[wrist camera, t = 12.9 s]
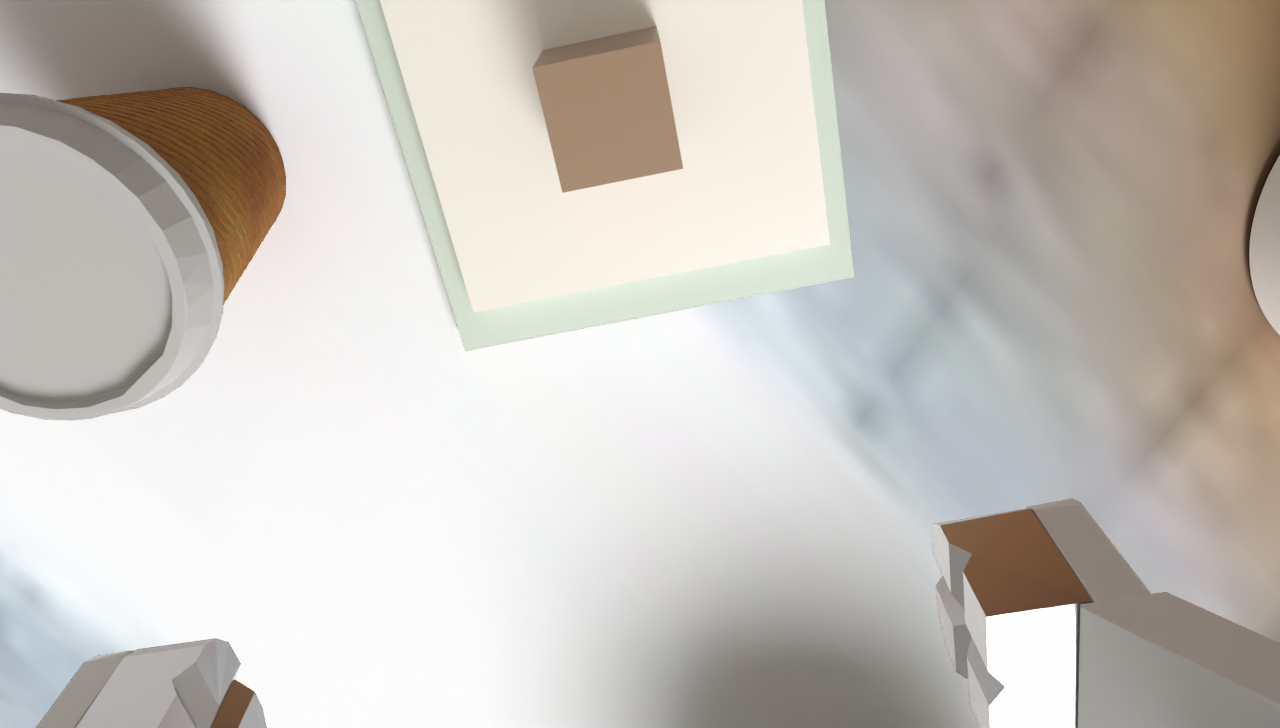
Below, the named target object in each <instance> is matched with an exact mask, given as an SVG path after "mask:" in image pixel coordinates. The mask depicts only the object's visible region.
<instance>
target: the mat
mask: <svg viewBox="0 0 1280 728" xmlns="http://www.w3.org/2000/svg"><path fill="white" fill-rule="evenodd" d="M355 1H356V4H357V8H358V11H359V14H360V17H361V20H362V24H363V27H364V30H365V33H366V36H367V39H368V43H369V46H370V49H371V52H372V55H373V59H374V62H375V65H376V68H377V71H378V75H379V78H380V81H381V84H382V87H383V90H384V94H385V97H386V100H387V103H388V106H389V110H390V113H391V116H392V119H393V122H394V126H395V129H396V132H397V135H398V138H399V142H400V145H401V148H402V151H403V154H404V157H405V161H406V164H407V167H408V170H409V173H410V177H411V180H412V183H413V186H414V189H415V193H416V196H417V199H418V202H419V205H420V209H421V212H422V215H423V218H424V221H425V224H426V228H427V231H428V234H429V237H430V240H431V244H432V247H433V250H434V253H435V256H436V260H437V263H438V266H439V269H440V272H441V276H442V279H443V282H444V285H445V288H446V291H447V295H448V298H449V301H450V304H451V307H452V311H453V314H454V317H455V320H456V323H457V327H458V330H459V333H460V336H461V339H462V342H463V346H464V349H465V351H468V350H474V349H479V348H484V347H489V346H495V345H500V344H505V343H510V342H516V341H521V340H526V339H531V338H537V337H542V336H547V335H552V334H558V333H563V332H568V331H573V330H579V329H584V328H589V327H594V326H600V325H605V324H610V323H615V322H621V321H626V320H631V319H636V318H642V317H647V316H652V315H657V314H663V313H668V312H673V311H678V310H684V309H689V308H694V307H699V306H705V305H710V304H715V303H720V302H725V301H731V300H736V299H741V298H746V297H752V296H757V295H762V294H767V293H773V292H778V291H783V290H788V289H794V288H799V287H804V286H809V285H815V284H820V283H825V282H830V281H836V280H841V279H846V278H851V277H854V272H853V262H852V253H851V244H850V234H849V225H848V216H847V207H846V197H845V188H844V179H843V169H842V160H841V151H840V141H839V132H838V123H837V114H836V104H835V95H834V86H833V76H832V67H831V58H830V49H829V39H828V30H827V21H826V11H825V2H824V0H802V3H803V12H804V21H805V29H806V38H807V47H808V56H809V64H810V73H811V82H812V90H813V99H814V108H815V117H816V125H817V134H818V143H819V151H820V160H821V169H822V177H823V186H824V195H825V204H826V212H827V221H828V230H829V238H830V244H829V245H824V246H819V247H814V248H808V249H803V250H798V251H793V252H787V253H782V254H777V255H772V256H766V257H761V258H756V259H751V260H746V261H740V262H735V263H730V264H725V265H719V266H714V267H709V268H704V269H698V270H693V271H688V272H683V273H677V274H672V275H667V276H662V277H657V278H651V279H646V280H641V281H636V282H630V283H625V284H620V285H615V286H609V287H604V288H599V289H594V290H589V291H583V292H578V293H573V294H568V295H562V296H557V297H552V298H547V299H541V300H536V301H531V302H526V303H521V304H515V305H510V306H505V307H500V308H494V309H489V310H484V311H479V312H473V309H472V306H471V302H470V299H469V296H468V292H467V289H466V286H465V282H464V279H463V276H462V272H461V269H460V266H459V262H458V259H457V256H456V252H455V249H454V246H453V242H452V239H451V236H450V232H449V229H448V226H447V222H446V219H445V216H444V212H443V209H442V206H441V202H440V199H439V196H438V192H437V189H436V186H435V182H434V179H433V176H432V172H431V169H430V166H429V162H428V159H427V156H426V152H425V149H424V146H423V142H422V139H421V136H420V132H419V129H418V126H417V122H416V119H415V116H414V112H413V109H412V106H411V102H410V99H409V96H408V92H407V89H406V86H405V82H404V79H403V76H402V72H401V69H400V66H399V62H398V59H397V56H396V52H395V49H394V46H393V42H392V39H391V36H390V33H389V29H388V26H387V23H386V19H385V16H384V13H383V9H382V6H381V3H380V0H355Z"/></svg>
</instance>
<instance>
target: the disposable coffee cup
mask: <svg viewBox="0 0 1280 728" xmlns="http://www.w3.org/2000/svg"><path fill="white" fill-rule="evenodd" d="M285 195H286V175H285V170H284V165H283V160H282V157H281V155H280V152H279V149H278V147H277V145H276V143H275V142H274V140H273V138H272V137H271V135H270V133H269V132H268V131H267V129H266V128H265V127H264V126H263V125H262V123H261V122H260V121H259V120H258V119H257V118H256V117H255V116H254V115H253V114H252V113H250V112H249V111H248V110H247V109H246V108H245V107H243V106H242V105H240V104H238V103H237V102H235V101H233V100H232V99H230V98H229V97H226V96H224V95H221V94H218V93H216V92H213V91H210V90H204V89H198V88H192V87H186V88H171V89H163V90H153V91H143V92H133V93H124V94H113V95H103V96H93V97H85V98H74V99H68V100H58V101H54V100H50V99H47V98H43V97H39V96H35V95H26V94H10V93H0V409H3V410H6V411H8V412H11V413H15V414H20V415H25V416H30V417H35V418H40V419H46V420H81V419H91V418H95V417H99V416H103V415H106V414H111V413H116V412H121V411H126V410H131V409H136V408H140V407H142V406H144V405H147V404H149V403H151V402H154V401H156V400H158V399H160V398H163V397H165V396H166V395H168V394H169V393H171V392H172V391H174V390H175V389H177V388H178V387H180V386H181V385H182V384H183V383H184V382H185V381H186V380H187V379H188V378H189V377H190V376H191V375H192V374H193V373H194V372H195V371H196V370H197V369H198V368H199V367H200V365H201V364H202V362H203V361H204V359H205V357H206V356H207V354H208V352H209V350H210V348H211V346H212V344H213V343H214V341H215V339H216V337H217V333H218V329H219V325H220V322H221V318H222V314H223V305H224V303H225V301H226V300H227V299H228V297H229V295H230V293H231V291H232V290H233V288H234V286H235V285H236V283H237V282H238V280H239V278H240V277H241V275H242V274H243V272H244V270H245V269H246V267H247V265H248V263H249V262H250V261H251V260H252V258H253V256H254V254H255V253H256V251H257V249H258V248H259V246H260V244H261V242H262V241H263V240H264V238H265V236H266V235H267V233H268V231H269V229H270V228H271V226H272V225H273V224H274V222H275V221H276V219H277V217H278V215H279V213H280V211H281V209H282V206H283V203H284V199H285Z"/></svg>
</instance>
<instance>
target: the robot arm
mask: <svg viewBox="0 0 1280 728" xmlns="http://www.w3.org/2000/svg"><path fill="white" fill-rule="evenodd" d="M1249 260H1250V273H1251V279H1252V284H1253V288H1254V292H1255V295H1256V298H1257V300H1258V303H1259V305H1260V308H1261V309H1262V311H1263V313H1264V315H1265V317H1266V318H1267V320H1268V321H1269V323H1270V324H1271V326H1272V327H1273V328H1274V329H1275V330H1276V332H1277V333H1278V334H1279V335H1280V155H1279V157H1278V159H1277V161H1276V162H1275V164H1274V166H1273V168H1272V170H1271V172H1270V174H1269V176H1268V178H1267V181H1266V183H1265V185H1264V188H1263V190H1262V193H1261V196H1260V198H1259V201H1258V204H1257V208H1256V211H1255V215H1254V219H1253V224H1252V229H1251V237H1250V250H1249ZM932 540H933V555H934V557H935V559H936V561H937V563H938V565H939V568H940V570H941V572H942V574H943V576H942V578H941V579H940V581H939V582H938V583H937V585H936V597H937V607H938V614H939V619H940V624H941V629H942V634H943V637H944V640H945V644H946V647H947V650H948V653H949V655H950V658H951V660H952V663H953V665H954V668H955V670H956V672H957V673H959V674H960V675H962V676H964V677H965V678H967V679H968V683H969V699H970V705H971V708H972V710H973V712H974V714H975V717H976V719H977V721H978V724H979V726H980V728H1280V643H1279V642H1276V641H1274V640H1272V639H1270V638H1267V637H1265V636H1263V635H1261V634H1258V633H1256V632H1254V631H1252V630H1250V629H1247V628H1245V627H1243V626H1241V625H1238V624H1236V623H1234V622H1232V621H1230V620H1227V619H1225V618H1223V617H1221V616H1218V615H1216V614H1214V613H1212V612H1210V611H1207V610H1205V609H1203V608H1201V607H1198V606H1196V605H1194V604H1192V603H1190V602H1187V601H1185V600H1183V599H1181V598H1178V597H1176V596H1174V595H1172V594H1170V593H1167V592H1162V593H1155V594H1151V593H1150V591H1149V590H1148V589H1147V588H1146V586H1145V585H1144V584H1143V582H1142V581H1141V580H1140V578H1139V577H1138V576H1137V575H1136V573H1135V572H1134V571H1133V569H1132V568H1131V567H1130V566H1129V564H1128V563H1127V562H1126V560H1125V559H1124V558H1123V556H1122V555H1121V554H1120V553H1119V551H1118V550H1117V549H1116V547H1115V546H1114V545H1113V544H1112V542H1111V541H1110V540H1109V538H1108V537H1107V536H1106V534H1105V533H1104V532H1103V531H1102V529H1101V528H1100V527H1099V525H1098V524H1097V523H1096V522H1095V520H1094V519H1093V518H1092V516H1091V515H1090V514H1089V512H1088V511H1087V510H1086V509H1085V507H1084V506H1083V505H1082V503H1081V502H1079V501H1077V500H1075V499H1073V498H1072V499H1066V500H1061V501H1056V502H1050V503H1045V504H1040V505H1034V506H1029V507H1026V509H1021V510H1014V511H1008V512H1002V513H996V514H990V515H984V516H978V517H972V518H966V519H960V520H954V521H948V522H942V523H936V524H934V525H933V533H932ZM240 664H241V663H240V662H239V660H238V658H237V656H236V655H235V653H234V651H233V649H232V648H231V646H230V644H229V642H226V641H223V640H219V639H209V640H201V641H194V642H187V643H179V644H172V645H165V646H157V647H150V648H143V649H137V650H135V651H124V652H118V653H111V654H104V655H98V656H96V657H94V658H92V659H90V660H88V661H86V662H84V663H83V664H82V665H81V667H80V668H79V669H78V671H77V672H76V674H75V675H74V676H73V678H72V679H71V680H70V682H69V683H68V684H67V686H66V687H65V689H64V690H63V691H62V693H61V694H60V695H59V697H58V698H57V699H56V701H55V702H54V704H53V705H52V706H51V708H50V709H49V710H48V712H47V713H46V714H45V716H44V717H43V719H42V720H41V721H40V723H39V724H38V725H37V727H36V728H267V727H266V723H265V718H264V713H263V708H262V706H261V704H260V702H259V700H258V698H257V696H256V693H255V692H254V691H252V690H251V689H249V688H247V687H246V686H244V685H243V684H241V683H240V682H238V681H236V680H235V678H236V675H237V672H238V670H239V667H240Z"/></svg>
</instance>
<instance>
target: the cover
mask: <svg viewBox="0 0 1280 728" xmlns="http://www.w3.org/2000/svg"><path fill="white" fill-rule="evenodd" d="M380 3H381V6H382V9H383V13H384V16H385V19H386V23H387V26H388V29H389V33H390V36H391V39H392V42H393V46H394V49H395V52H396V56H397V59H398V62H399V66H400V69H401V72H402V76H403V79H404V82H405V86H406V89H407V92H408V96H409V99H410V102H411V106H412V109H413V112H414V116H415V119H416V122H417V126H418V129H419V132H420V136H421V139H422V142H423V146H424V149H425V152H426V156H427V159H428V162H429V166H430V169H431V172H432V176H433V179H434V182H435V186H436V189H437V192H438V196H439V199H440V202H441V206H442V209H443V212H444V216H445V219H446V222H447V226H448V229H449V232H450V236H451V239H452V242H453V246H454V249H455V252H456V256H457V259H458V262H459V266H460V269H461V272H462V276H463V279H464V282H465V286H466V289H467V292H468V296H469V299H470V302H471V306H472V309H473V312H479V311H484V310H489V309H494V308H500V307H505V306H510V305H515V304H521V303H526V302H531V301H536V300H541V299H547V298H552V297H557V296H562V295H568V294H573V293H578V292H583V291H589V290H594V289H599V288H604V287H609V286H615V285H620V284H625V283H630V282H636V281H641V280H646V279H651V278H657V277H662V276H667V275H672V274H677V273H683V272H688V271H693V270H698V269H704V268H709V267H714V266H719V265H725V264H730V263H735V262H740V261H746V260H751V259H756V258H761V257H766V256H772V255H777V254H782V253H787V252H793V251H798V250H803V249H808V248H814V247H819V246H824V245H829V244H830V238H829V230H828V221H827V212H826V204H825V195H824V186H823V177H822V169H821V160H820V151H819V143H818V134H817V125H816V117H815V108H814V99H813V90H812V82H811V73H810V64H809V56H808V47H807V38H806V29H805V21H804V12H803V3H802V0H380Z"/></svg>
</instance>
